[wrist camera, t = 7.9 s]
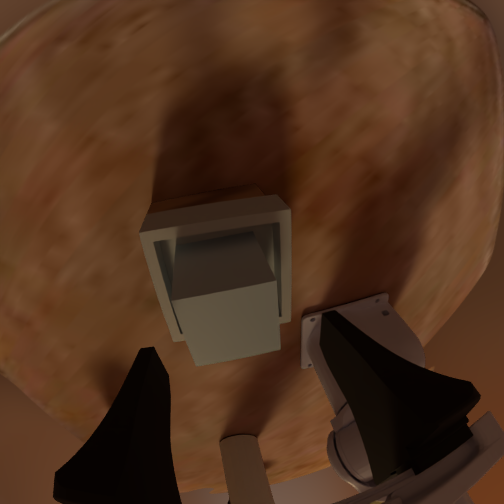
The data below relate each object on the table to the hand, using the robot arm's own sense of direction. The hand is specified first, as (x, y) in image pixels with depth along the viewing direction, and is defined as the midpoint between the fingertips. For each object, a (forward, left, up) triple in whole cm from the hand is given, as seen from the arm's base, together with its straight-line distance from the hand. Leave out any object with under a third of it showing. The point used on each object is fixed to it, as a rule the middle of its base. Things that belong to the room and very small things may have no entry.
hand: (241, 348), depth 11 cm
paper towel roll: (+4, +34, -10) cm, 36 cm away
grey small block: (0, 0, -6) cm, 6 cm away
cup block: (0, 0, -7) cm, 7 cm away
